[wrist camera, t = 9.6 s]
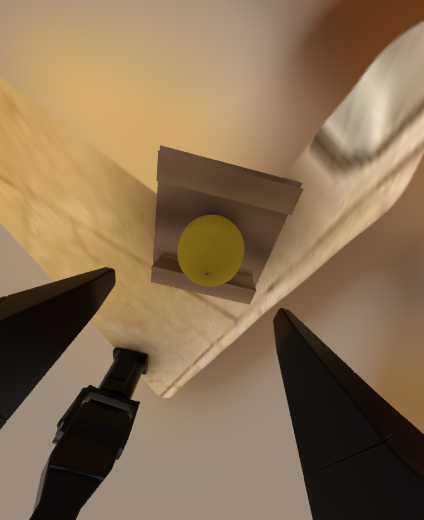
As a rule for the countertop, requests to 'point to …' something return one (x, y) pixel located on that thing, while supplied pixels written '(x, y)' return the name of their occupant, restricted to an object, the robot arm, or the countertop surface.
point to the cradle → (223, 204)
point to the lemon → (210, 250)
